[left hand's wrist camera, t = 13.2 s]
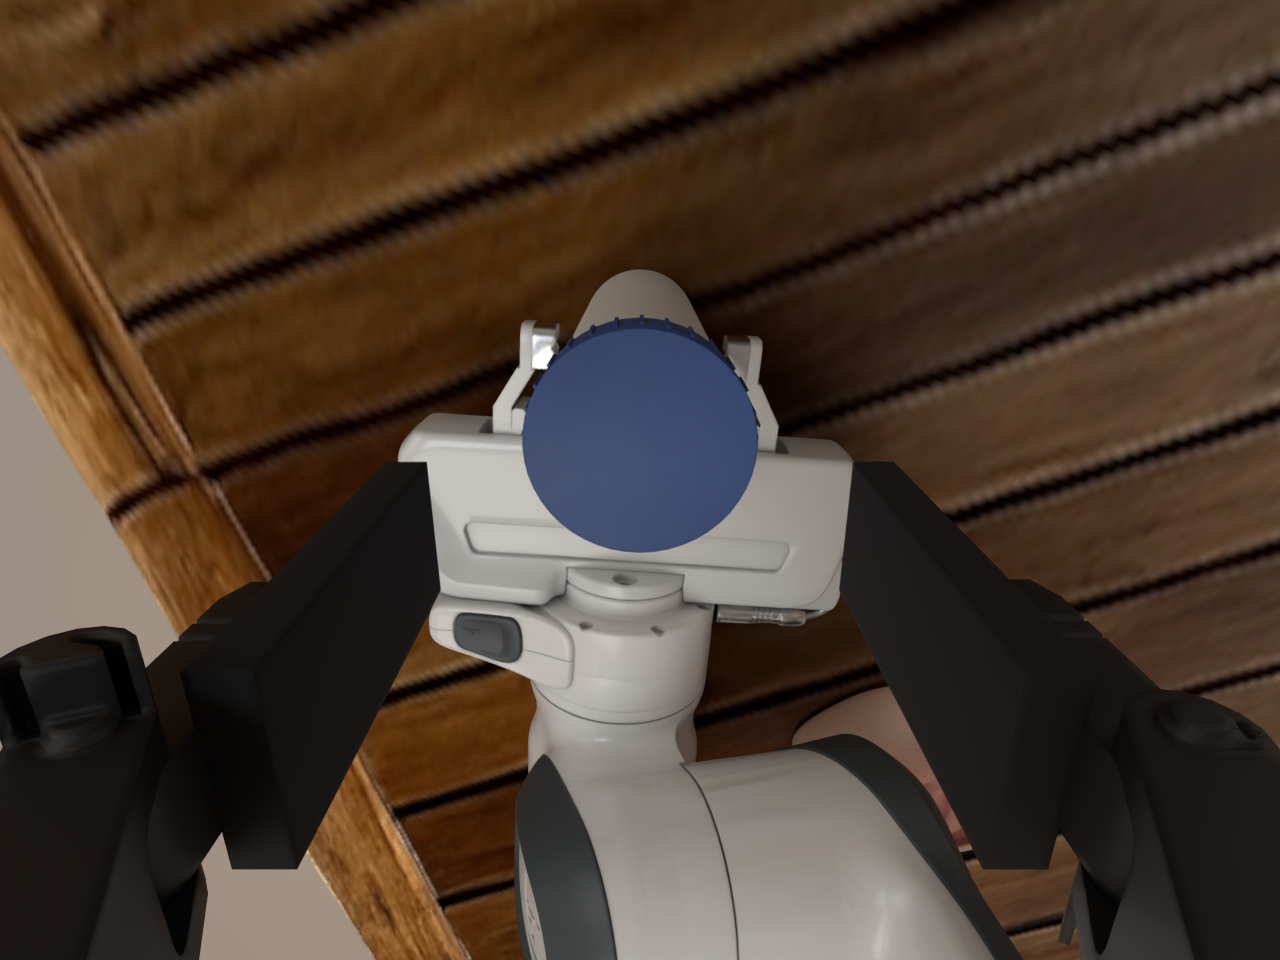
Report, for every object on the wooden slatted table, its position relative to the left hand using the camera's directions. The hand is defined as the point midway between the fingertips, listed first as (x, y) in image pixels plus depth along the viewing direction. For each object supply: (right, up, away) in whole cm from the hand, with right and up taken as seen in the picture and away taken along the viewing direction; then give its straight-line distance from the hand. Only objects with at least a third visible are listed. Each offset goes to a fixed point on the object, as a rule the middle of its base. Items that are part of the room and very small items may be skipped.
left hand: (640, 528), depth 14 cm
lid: (0, +2, +5) cm, 5 cm away
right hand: (0, +7, +17) cm, 18 cm away
